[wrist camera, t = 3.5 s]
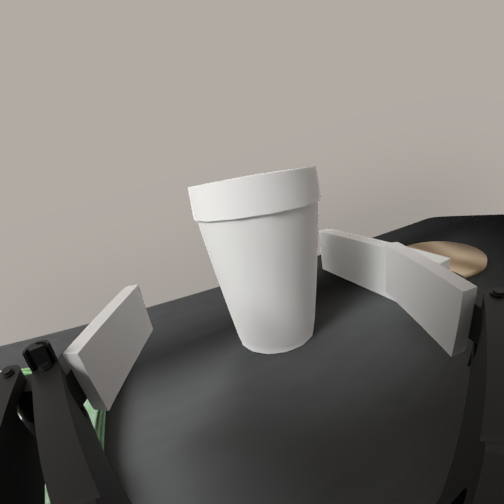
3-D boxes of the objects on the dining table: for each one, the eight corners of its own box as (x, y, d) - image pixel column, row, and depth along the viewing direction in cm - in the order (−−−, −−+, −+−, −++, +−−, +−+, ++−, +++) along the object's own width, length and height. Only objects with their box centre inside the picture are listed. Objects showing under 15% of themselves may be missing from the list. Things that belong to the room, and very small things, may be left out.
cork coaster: (431, 240, 39) (431, 236, 39) (500, 257, 27) (500, 252, 27) (376, 262, 35) (376, 257, 35) (457, 290, 23) (458, 284, 23)
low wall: (332, 265, 37) (329, 228, 36) (445, 312, 20) (450, 258, 19) (322, 268, 36) (318, 231, 35) (435, 319, 20) (440, 263, 19)
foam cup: (244, 382, 18) (201, 185, 15) (210, 327, 27) (178, 189, 23) (355, 333, 21) (342, 163, 18) (297, 298, 30) (279, 170, 26)
